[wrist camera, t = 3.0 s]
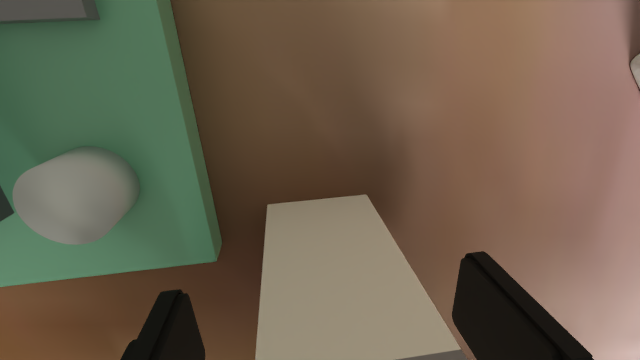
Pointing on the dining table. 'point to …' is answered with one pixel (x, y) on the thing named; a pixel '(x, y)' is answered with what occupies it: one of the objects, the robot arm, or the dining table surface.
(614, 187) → the dining table surface
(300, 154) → the dining table surface
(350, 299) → the plug
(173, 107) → the board
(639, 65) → the light bulb box
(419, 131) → the dining table surface
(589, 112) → the dining table surface
